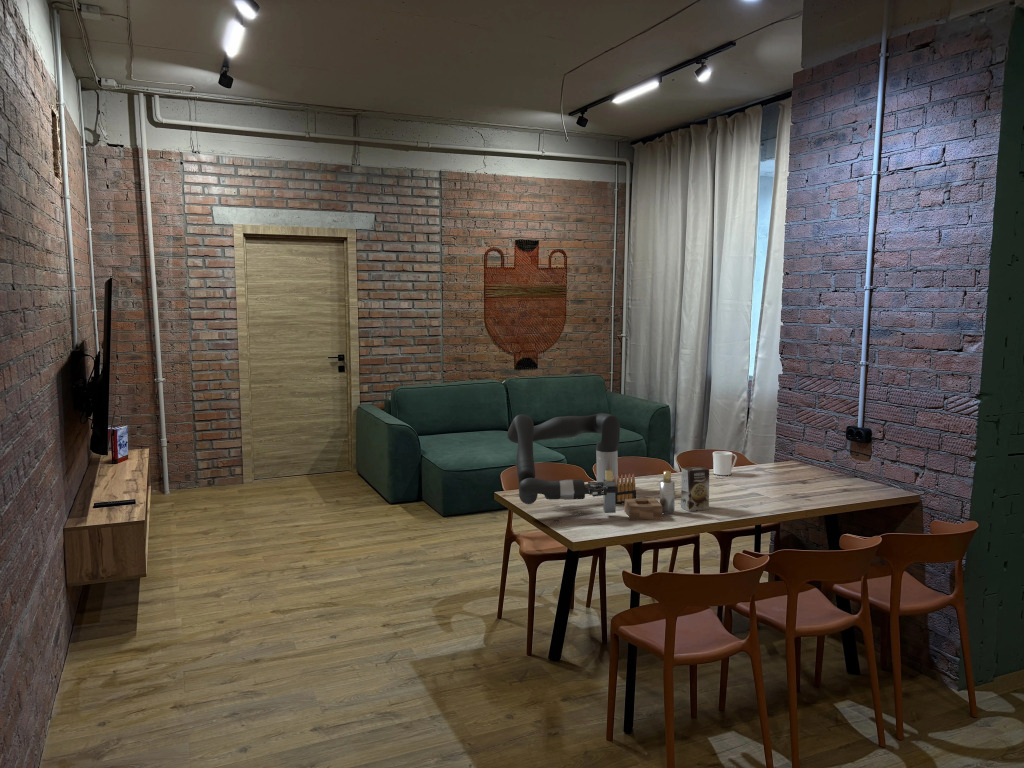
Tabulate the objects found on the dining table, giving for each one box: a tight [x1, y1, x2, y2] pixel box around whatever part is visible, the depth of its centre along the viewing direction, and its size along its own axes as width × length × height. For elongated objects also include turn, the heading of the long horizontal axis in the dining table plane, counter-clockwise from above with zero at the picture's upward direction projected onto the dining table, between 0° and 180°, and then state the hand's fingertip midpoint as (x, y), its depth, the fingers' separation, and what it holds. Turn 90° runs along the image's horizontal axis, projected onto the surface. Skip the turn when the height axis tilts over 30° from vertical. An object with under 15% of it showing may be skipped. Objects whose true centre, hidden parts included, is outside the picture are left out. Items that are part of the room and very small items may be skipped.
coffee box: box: [680, 466, 710, 512], centre depth 282 cm, size 9×6×16 cm
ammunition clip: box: [613, 472, 637, 505], centre depth 292 cm, size 11×2×12 cm, turn 111°
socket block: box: [624, 497, 663, 521], centre depth 275 cm, size 12×12×5 cm
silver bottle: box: [659, 470, 676, 515], centre depth 278 cm, size 6×6×16 cm
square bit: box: [602, 470, 617, 514], centre depth 274 cm, size 4×4×16 cm
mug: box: [712, 450, 738, 477], centre depth 339 cm, size 11×9×10 cm
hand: (616, 488), depth 274 cm, fingers closed on square bit, 4 cm apart
